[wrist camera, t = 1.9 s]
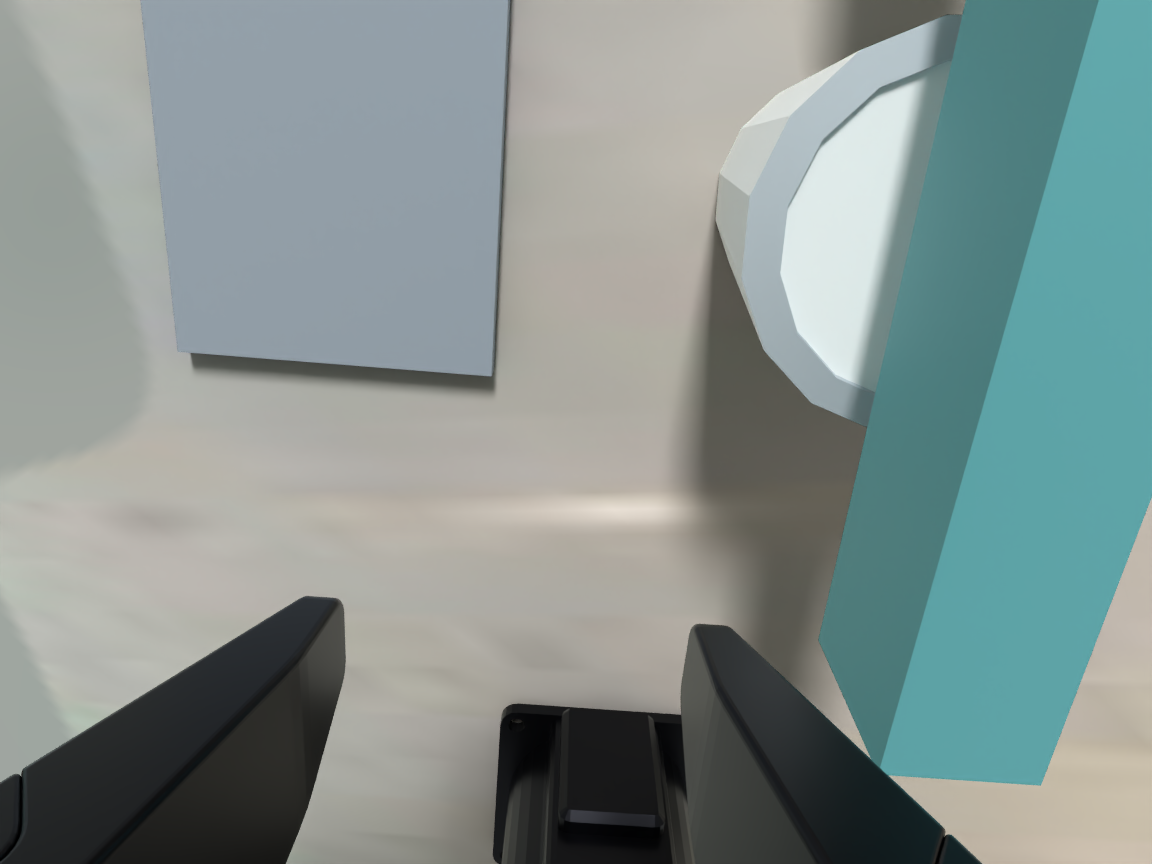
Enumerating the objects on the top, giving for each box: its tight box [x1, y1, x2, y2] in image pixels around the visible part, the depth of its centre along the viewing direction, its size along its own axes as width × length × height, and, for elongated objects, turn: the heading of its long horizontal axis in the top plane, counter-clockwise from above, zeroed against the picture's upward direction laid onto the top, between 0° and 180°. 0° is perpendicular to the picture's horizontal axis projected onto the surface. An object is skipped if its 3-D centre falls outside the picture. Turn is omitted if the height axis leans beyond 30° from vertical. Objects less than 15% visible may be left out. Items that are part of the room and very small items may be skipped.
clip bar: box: [818, 0, 1152, 785], centre depth 10 cm, size 20×4×3 cm, turn 175°
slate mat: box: [141, 0, 510, 376], centre depth 19 cm, size 12×8×1 cm, turn 175°
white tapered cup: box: [715, 15, 962, 427], centre depth 17 cm, size 7×7×7 cm
